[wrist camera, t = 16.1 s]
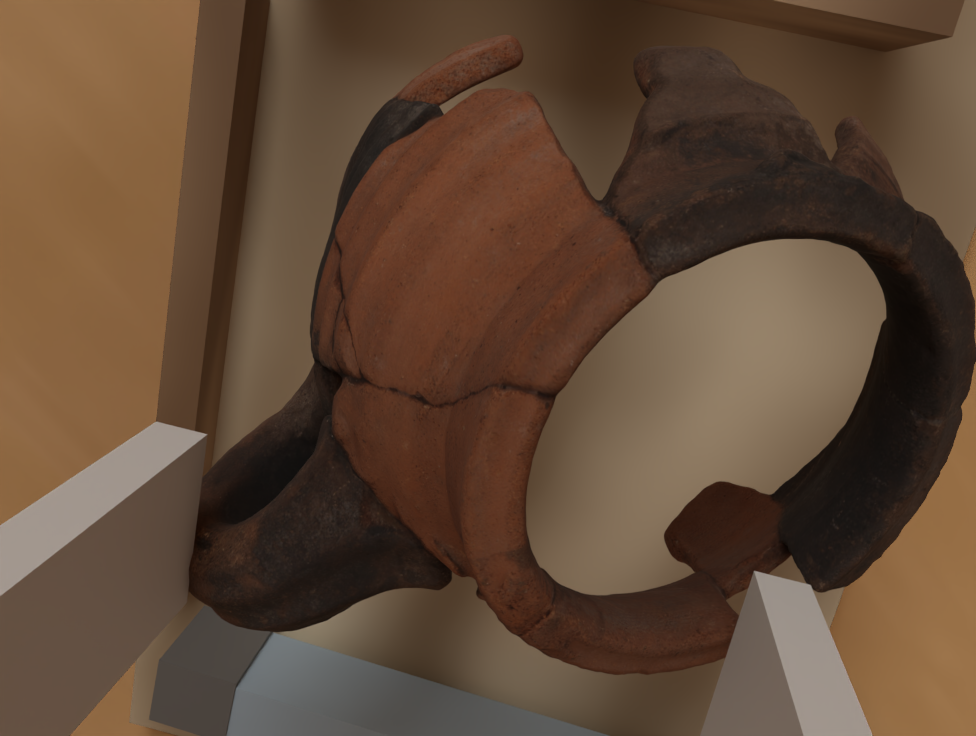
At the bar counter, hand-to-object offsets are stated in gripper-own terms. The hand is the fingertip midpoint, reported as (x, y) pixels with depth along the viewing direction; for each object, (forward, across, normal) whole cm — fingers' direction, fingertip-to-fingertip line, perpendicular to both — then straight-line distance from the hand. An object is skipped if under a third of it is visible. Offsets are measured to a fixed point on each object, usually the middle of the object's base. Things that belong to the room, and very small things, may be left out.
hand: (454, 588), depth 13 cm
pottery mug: (+6, 0, +3) cm, 6 cm away
